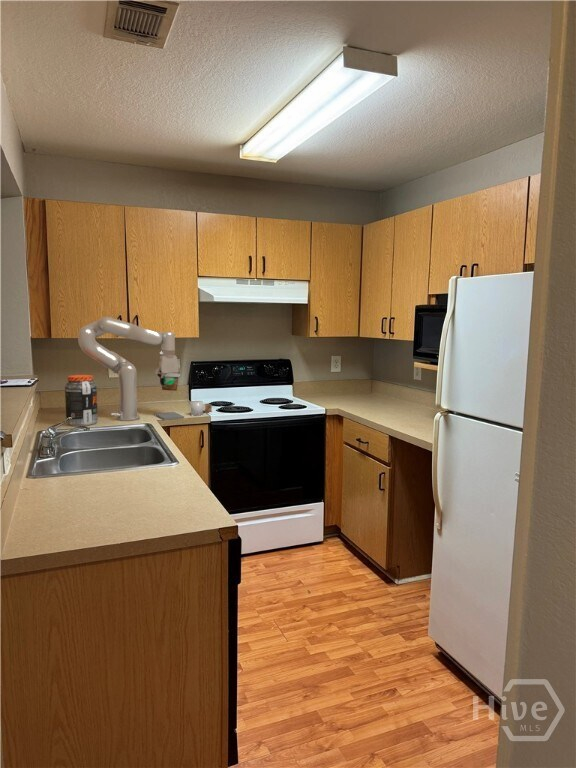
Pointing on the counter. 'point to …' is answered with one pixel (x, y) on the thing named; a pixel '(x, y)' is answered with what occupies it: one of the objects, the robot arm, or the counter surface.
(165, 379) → the food container
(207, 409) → the walnut block
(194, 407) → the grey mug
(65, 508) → the counter surface
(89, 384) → the supplement tub
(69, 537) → the counter surface
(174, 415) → the slate mat
